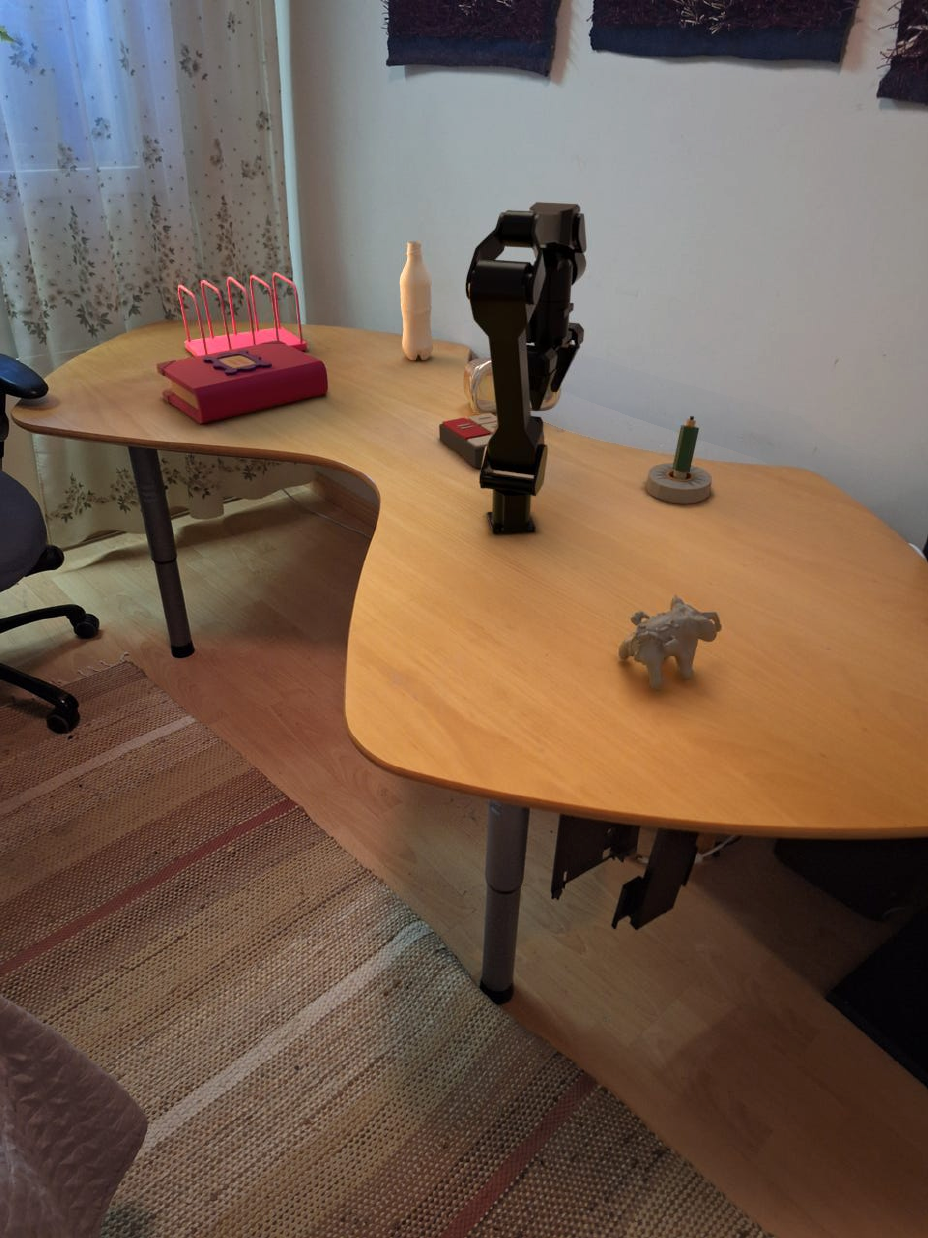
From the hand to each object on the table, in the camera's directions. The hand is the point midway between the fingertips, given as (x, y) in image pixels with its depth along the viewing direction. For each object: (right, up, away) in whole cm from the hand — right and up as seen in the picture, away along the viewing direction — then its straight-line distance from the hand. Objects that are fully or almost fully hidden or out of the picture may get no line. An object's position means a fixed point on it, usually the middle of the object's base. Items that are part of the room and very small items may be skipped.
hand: (545, 400), depth 127 cm
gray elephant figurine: (+11, -40, -34) cm, 54 cm away
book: (-59, +12, +40) cm, 72 cm away
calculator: (-9, -4, +17) cm, 20 cm away
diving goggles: (-4, +7, +34) cm, 35 cm away
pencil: (+22, -13, +3) cm, 26 cm away
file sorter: (-66, +31, +68) cm, 99 cm away
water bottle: (-24, +27, +62) cm, 72 cm away
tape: (+22, -14, +3) cm, 26 cm away
